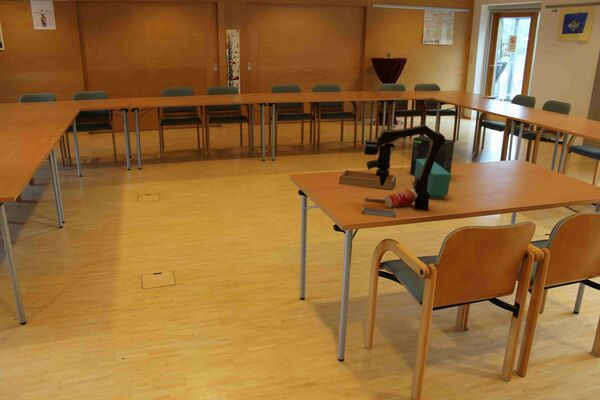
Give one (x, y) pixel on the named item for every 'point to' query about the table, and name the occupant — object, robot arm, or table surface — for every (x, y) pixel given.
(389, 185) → the tray
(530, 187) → the table surface
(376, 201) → the strip
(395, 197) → the coffee cup
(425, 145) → the headset box
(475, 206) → the table surface
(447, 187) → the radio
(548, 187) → the table surface
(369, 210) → the mat
